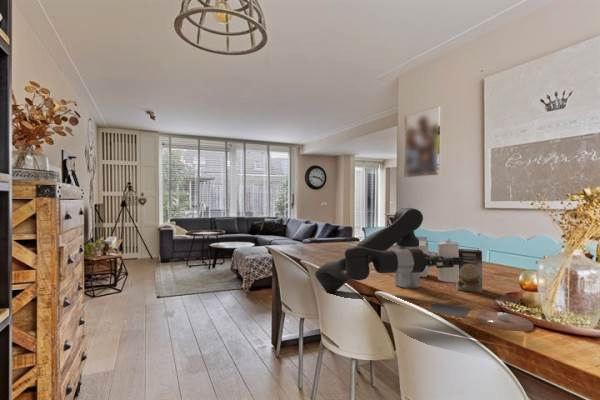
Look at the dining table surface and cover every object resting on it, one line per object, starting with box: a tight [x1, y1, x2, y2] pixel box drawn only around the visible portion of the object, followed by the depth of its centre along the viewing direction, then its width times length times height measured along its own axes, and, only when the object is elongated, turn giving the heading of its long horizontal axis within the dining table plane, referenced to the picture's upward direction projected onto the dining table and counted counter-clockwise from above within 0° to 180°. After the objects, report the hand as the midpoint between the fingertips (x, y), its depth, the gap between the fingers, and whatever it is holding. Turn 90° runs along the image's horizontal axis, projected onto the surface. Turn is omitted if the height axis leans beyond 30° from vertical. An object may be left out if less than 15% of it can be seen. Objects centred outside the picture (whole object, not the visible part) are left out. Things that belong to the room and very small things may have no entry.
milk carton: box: [415, 235, 430, 278], centre depth 156 cm, size 7×7×19 cm
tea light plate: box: [475, 311, 534, 333], centre depth 92 cm, size 14×14×3 cm
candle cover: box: [436, 238, 460, 283], centre depth 103 cm, size 6×6×13 cm
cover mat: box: [427, 302, 472, 319], centre depth 103 cm, size 11×11×1 cm
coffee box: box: [455, 248, 483, 293], centre depth 129 cm, size 9×6×16 cm
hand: (454, 259), depth 103 cm, fingers closed on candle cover, 6 cm apart
